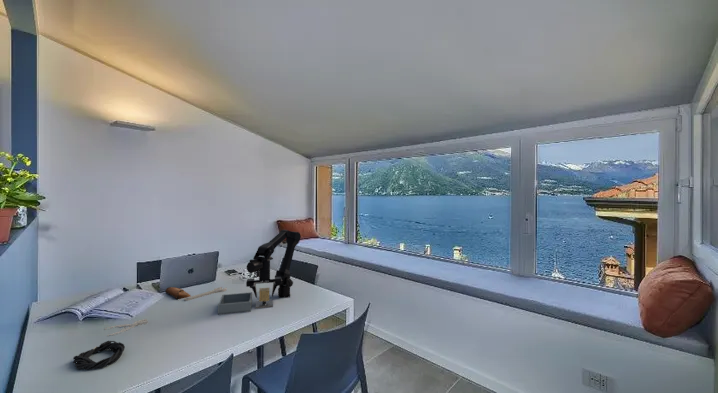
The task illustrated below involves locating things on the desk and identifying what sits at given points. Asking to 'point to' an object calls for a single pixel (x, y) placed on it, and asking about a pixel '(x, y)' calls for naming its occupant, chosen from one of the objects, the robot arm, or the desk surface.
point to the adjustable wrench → (206, 293)
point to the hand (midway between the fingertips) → (264, 296)
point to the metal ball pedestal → (264, 304)
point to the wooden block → (264, 294)
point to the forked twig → (129, 325)
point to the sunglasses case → (177, 293)
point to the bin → (235, 303)
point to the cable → (87, 363)
